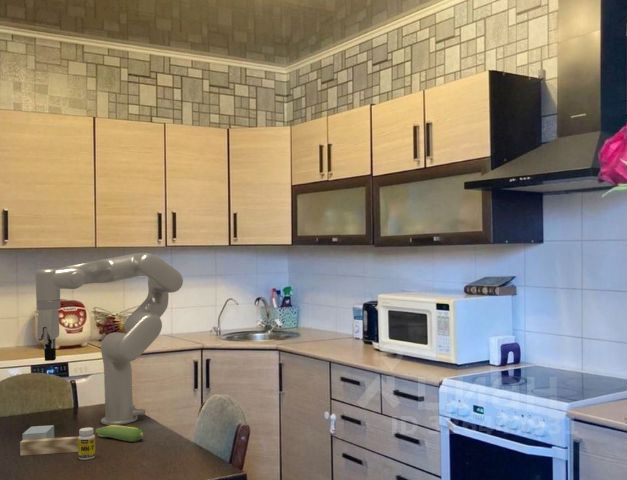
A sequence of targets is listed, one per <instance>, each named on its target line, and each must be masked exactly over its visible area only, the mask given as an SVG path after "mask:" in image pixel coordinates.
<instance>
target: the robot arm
mask: <svg viewBox="0 0 627 480" xmlns="http://www.w3.org/2000/svg"><path fill="white" fill-rule="evenodd" d="M137 277H147V278H148V279H147V286H148V287H147V288H148V290H147V291H148V294H147V296H146V297H145V299H144V300H143V301H142V303H141V304H140V305H139V306H138V307H137V308H136V309H135V310H134V311H133V312H132V313H131V314H130V315H129V316H128V317H127V318H126V319H125V322H124V331H125V332H126V333H125V332H119V331H117V332H111V333H108V334H107V335H106V336H105V337H104V338H103V339H102V341H101V345H100V352H101V353H100V354H101V357H102V362H103V374H104V375H103V376H104V378H103V379H104V380H103V382H104V407H105V410H104V413H105V414H104V415H105V416H104V417H102V418H101V420H100V423H101V424H103V425H106V426H110V425H126V424H131V423H134V422H136V421H137V420H138V419H139V418H138V416H145V415H146V409H145V408H144V409H143V408H136V405H134V404H133V402H134V401H133V374H132V373H133V371H132V364H131V362H133V361H135V360H136V359H138V358H139V357H140V356H141V355H143V353H144V352H145V351H146V350H147V349H148V348H149V347H150V346H151V344H153V342H154V341H155V340H157V338H158V337H159V335H160V334H161V332H162V327H163V321H162V318H161V317H162V316H163V315H164V314H165V312H166V310H167V308H168V306H169V299H170V297H169V294H171V293H176V292H178V291H180V290H181V288H182V286H183V285H184V284H183V283H184V279H183V276H182V274H181V273H180V272H179V271H178V269H176V268H174V267H173V266H171V265H170V264H168V262H166V261H165V260H163V259H162V258H160V257H159V256H158V255H156V254H153V253H150V252H140V253H139V252H136V253H131V254H126V255H119V256H114V257H108V258H103V259H98V260H95V261H90V262H85V263H84V262H83V263H79V264H78V263H77V264H73V265H72V264H71V265H67V266H62V267H59V268H41V269H37V271H35V295H36V296H35V298H36V300H35V301H36V304H35V305H36V311H37V312H38V313H37V326H36V327H37V328H36V329H37V332H36V333H37V336H36V337H37V341H39V342H40V341H42V342H43V343H42V344H43V347H44V348H43V349H44V361H46V362H51V361H53V362H54V361H55V360H57V359H56V358H57V353H56V344H57V342H56V339H57V338H58V337H59V336H60V317H59V310H61V308H62V307H61V290H64V289H65V290H76V289H79V288H81V287H82V286H84V285H88V284H107V283H112V282H117V281H122V280H128V279H132V278H137Z"/></svg>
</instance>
